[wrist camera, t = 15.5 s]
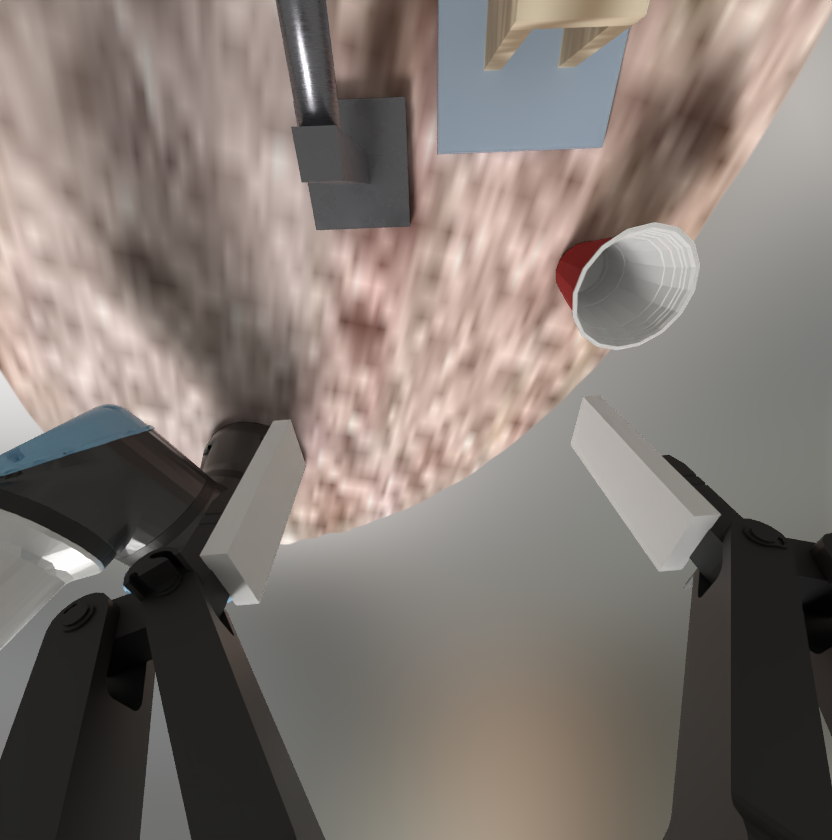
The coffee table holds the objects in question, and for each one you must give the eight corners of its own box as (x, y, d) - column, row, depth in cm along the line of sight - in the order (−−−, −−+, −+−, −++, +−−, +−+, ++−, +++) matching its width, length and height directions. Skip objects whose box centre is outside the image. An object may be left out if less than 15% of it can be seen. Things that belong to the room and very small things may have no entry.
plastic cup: (624, 194, 35) (708, 196, 25) (630, 290, 41) (700, 322, 31) (523, 241, 37) (565, 260, 28) (543, 326, 43) (582, 366, 33)
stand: (319, 228, 36) (256, 257, 21) (257, -125, 24) (-11, -684, 8) (409, 225, 36) (411, 251, 21) (396, -131, 24) (377, -701, 8)
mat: (437, 154, 33) (438, 153, 32) (438, -132, 24) (439, -144, 23) (597, 148, 33) (602, 146, 32) (661, -141, 24) (670, -153, 23)
